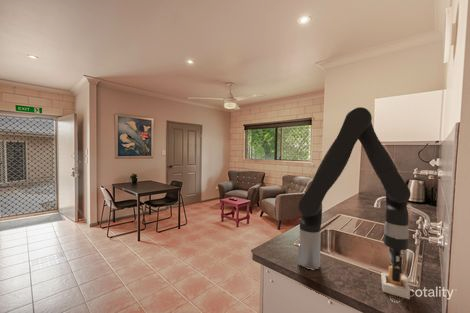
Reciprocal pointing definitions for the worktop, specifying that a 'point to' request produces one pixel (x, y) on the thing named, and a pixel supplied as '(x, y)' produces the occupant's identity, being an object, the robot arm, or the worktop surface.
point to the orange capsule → (391, 277)
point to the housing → (394, 289)
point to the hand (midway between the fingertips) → (394, 275)
